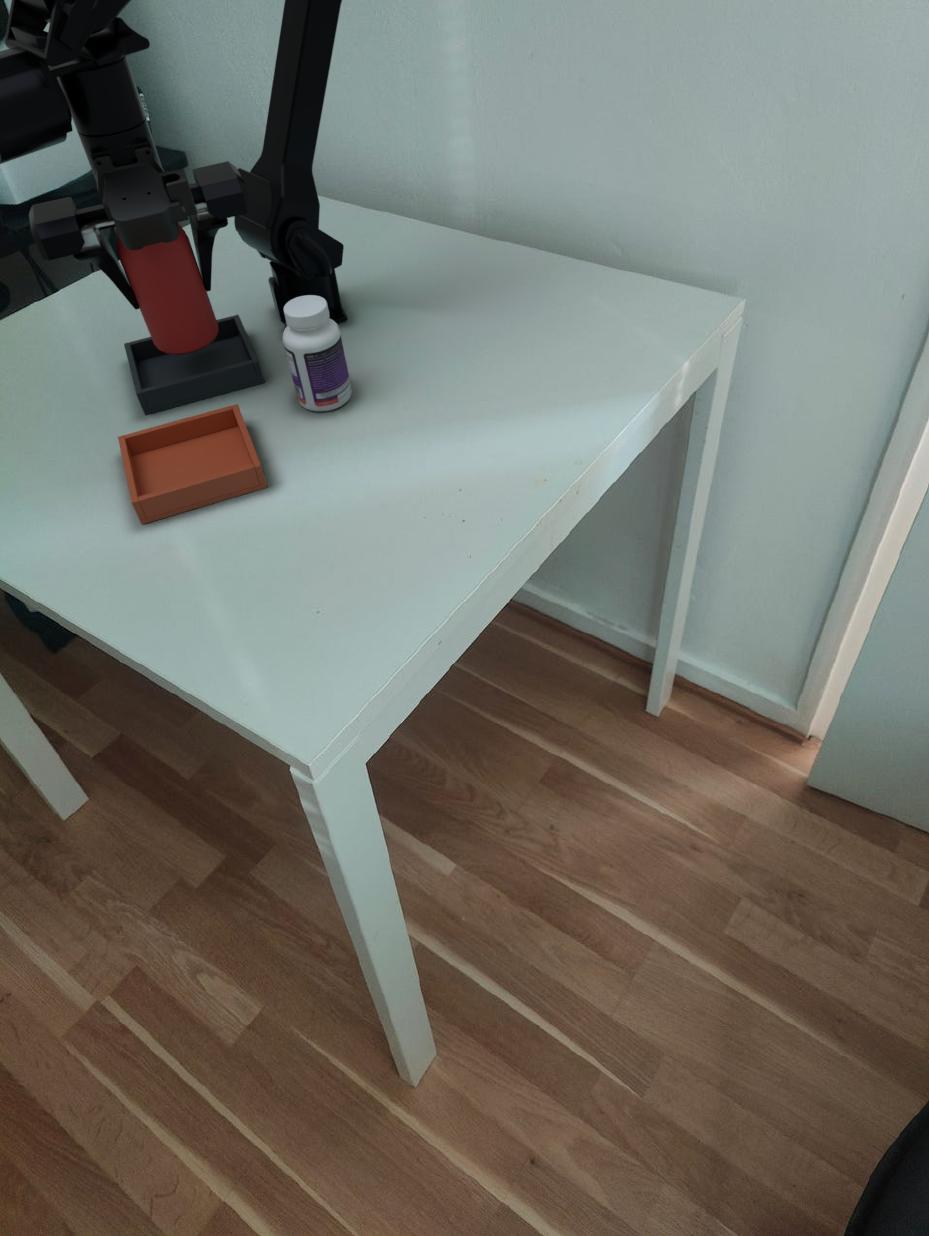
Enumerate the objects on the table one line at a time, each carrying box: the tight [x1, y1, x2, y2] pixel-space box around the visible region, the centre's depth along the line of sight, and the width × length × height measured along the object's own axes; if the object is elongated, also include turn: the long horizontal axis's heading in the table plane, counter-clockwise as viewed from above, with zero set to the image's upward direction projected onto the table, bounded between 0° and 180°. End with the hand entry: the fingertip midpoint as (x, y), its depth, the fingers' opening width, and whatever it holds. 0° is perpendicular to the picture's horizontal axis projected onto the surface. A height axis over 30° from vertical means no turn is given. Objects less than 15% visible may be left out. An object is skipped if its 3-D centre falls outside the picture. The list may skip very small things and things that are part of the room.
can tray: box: [123, 314, 266, 416], centre depth 89 cm, size 12×10×2 cm
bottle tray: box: [117, 403, 269, 525], centre depth 78 cm, size 11×10×2 cm
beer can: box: [113, 222, 219, 355], centre depth 83 cm, size 7×7×12 cm
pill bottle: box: [282, 295, 353, 412], centre depth 82 cm, size 5×5×10 cm
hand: (172, 298), depth 84 cm, fingers closed on beer can, 7 cm apart
